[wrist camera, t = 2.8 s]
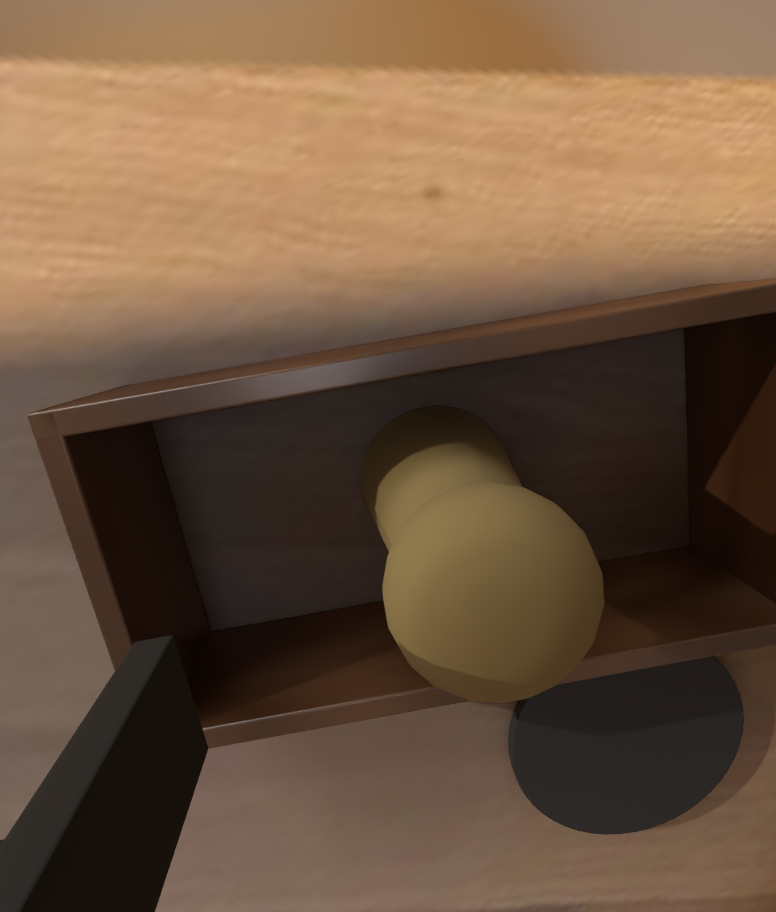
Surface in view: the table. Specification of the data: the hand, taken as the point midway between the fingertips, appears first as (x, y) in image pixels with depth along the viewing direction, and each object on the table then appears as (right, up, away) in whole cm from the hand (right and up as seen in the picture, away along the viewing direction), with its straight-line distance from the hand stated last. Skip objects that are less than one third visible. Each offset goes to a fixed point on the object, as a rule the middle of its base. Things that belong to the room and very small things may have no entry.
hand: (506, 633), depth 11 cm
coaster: (+9, -9, +15) cm, 20 cm away
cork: (0, +3, +11) cm, 12 cm away
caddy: (0, +3, +11) cm, 11 cm away
